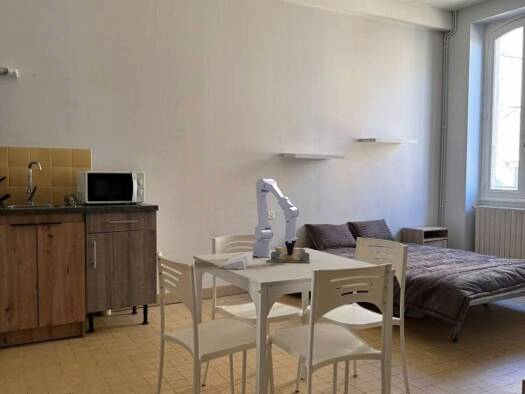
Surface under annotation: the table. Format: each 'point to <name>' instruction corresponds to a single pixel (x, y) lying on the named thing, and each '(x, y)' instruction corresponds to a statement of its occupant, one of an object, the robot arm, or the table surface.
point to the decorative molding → (239, 261)
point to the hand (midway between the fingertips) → (290, 254)
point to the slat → (285, 255)
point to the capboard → (276, 258)
